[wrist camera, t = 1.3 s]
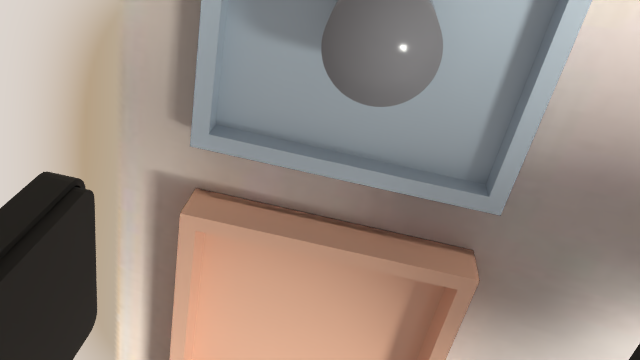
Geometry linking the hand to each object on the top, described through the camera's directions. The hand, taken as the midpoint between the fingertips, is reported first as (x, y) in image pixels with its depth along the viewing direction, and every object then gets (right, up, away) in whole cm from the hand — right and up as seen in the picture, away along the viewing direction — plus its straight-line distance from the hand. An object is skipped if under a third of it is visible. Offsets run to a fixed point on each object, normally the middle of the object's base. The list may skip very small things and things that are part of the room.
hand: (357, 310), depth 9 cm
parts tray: (+3, +11, +19) cm, 22 cm away
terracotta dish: (-1, -8, +30) cm, 31 cm away
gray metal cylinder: (+3, +10, +19) cm, 22 cm away
